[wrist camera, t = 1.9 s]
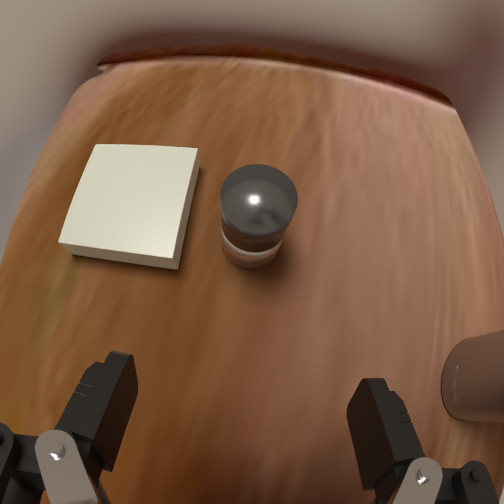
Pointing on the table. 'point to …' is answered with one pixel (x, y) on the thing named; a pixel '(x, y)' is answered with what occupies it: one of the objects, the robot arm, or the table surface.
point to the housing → (255, 214)
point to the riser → (133, 204)
